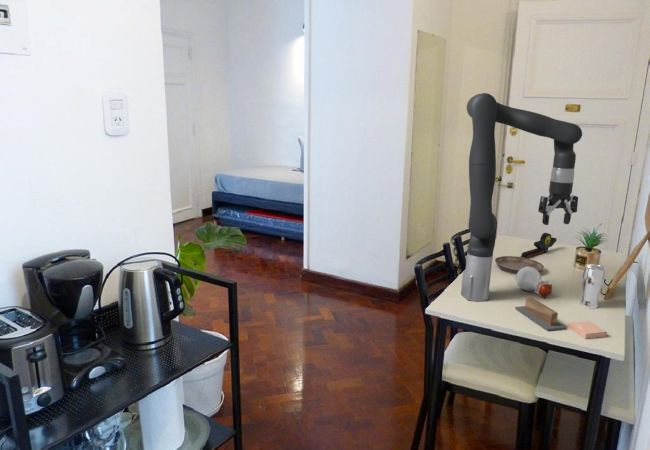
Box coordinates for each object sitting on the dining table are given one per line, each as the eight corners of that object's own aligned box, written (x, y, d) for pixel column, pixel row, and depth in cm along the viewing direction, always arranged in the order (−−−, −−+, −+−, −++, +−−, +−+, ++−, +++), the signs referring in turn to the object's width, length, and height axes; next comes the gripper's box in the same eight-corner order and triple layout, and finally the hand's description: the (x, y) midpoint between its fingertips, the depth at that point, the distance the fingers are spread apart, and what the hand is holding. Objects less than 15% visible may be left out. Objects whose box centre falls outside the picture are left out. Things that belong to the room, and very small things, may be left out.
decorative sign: (551, 249, 255) (553, 230, 253) (555, 250, 253) (557, 231, 251) (521, 258, 239) (523, 238, 237) (525, 259, 238) (527, 239, 235)
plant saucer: (532, 262, 233) (533, 256, 232) (551, 278, 213) (552, 271, 212) (488, 261, 233) (489, 254, 233) (502, 277, 213) (503, 269, 213)
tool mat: (547, 331, 163) (547, 328, 163) (515, 308, 180) (515, 306, 180) (565, 329, 165) (566, 327, 165) (532, 307, 182) (532, 305, 182)
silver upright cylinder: (580, 300, 190) (586, 262, 186) (601, 305, 186) (607, 266, 182) (576, 305, 185) (582, 267, 181) (597, 310, 180) (603, 271, 177)
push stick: (550, 325, 165) (552, 313, 164) (524, 308, 179) (526, 297, 178) (556, 325, 166) (557, 313, 165) (530, 308, 179) (531, 296, 178)
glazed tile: (567, 328, 166) (584, 340, 159) (568, 322, 166) (585, 333, 158) (587, 326, 168) (606, 337, 161) (588, 321, 168) (607, 331, 160)
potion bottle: (519, 287, 205) (545, 305, 192) (506, 276, 201) (531, 294, 187) (534, 269, 204) (560, 286, 191) (520, 258, 200) (547, 275, 186)
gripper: (550, 182, 173) (545, 227, 177) (586, 181, 176) (579, 226, 180) (537, 179, 180) (532, 222, 184) (571, 178, 183) (566, 221, 187)
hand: (555, 224), depth 182 cm, fingers open, 8 cm apart
